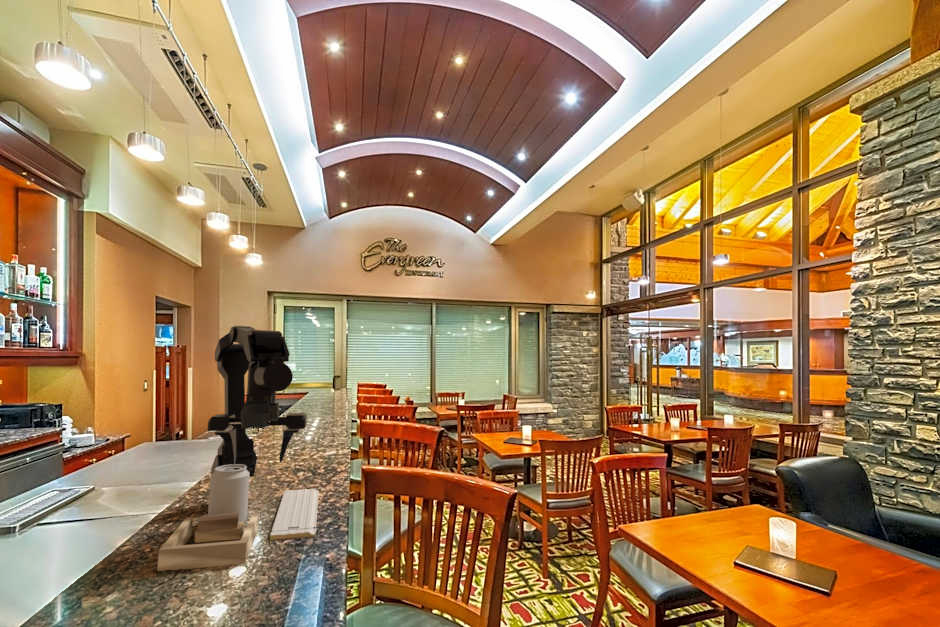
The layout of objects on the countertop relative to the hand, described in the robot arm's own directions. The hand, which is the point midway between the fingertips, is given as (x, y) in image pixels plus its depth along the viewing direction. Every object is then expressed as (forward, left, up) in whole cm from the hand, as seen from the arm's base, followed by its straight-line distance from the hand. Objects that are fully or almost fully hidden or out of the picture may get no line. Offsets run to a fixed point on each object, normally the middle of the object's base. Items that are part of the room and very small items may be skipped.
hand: (257, 463), depth 97 cm
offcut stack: (+3, -6, -13) cm, 15 cm away
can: (-4, -6, -14) cm, 15 cm away
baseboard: (-8, +9, -14) cm, 19 cm away
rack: (+8, -6, -13) cm, 17 cm away
